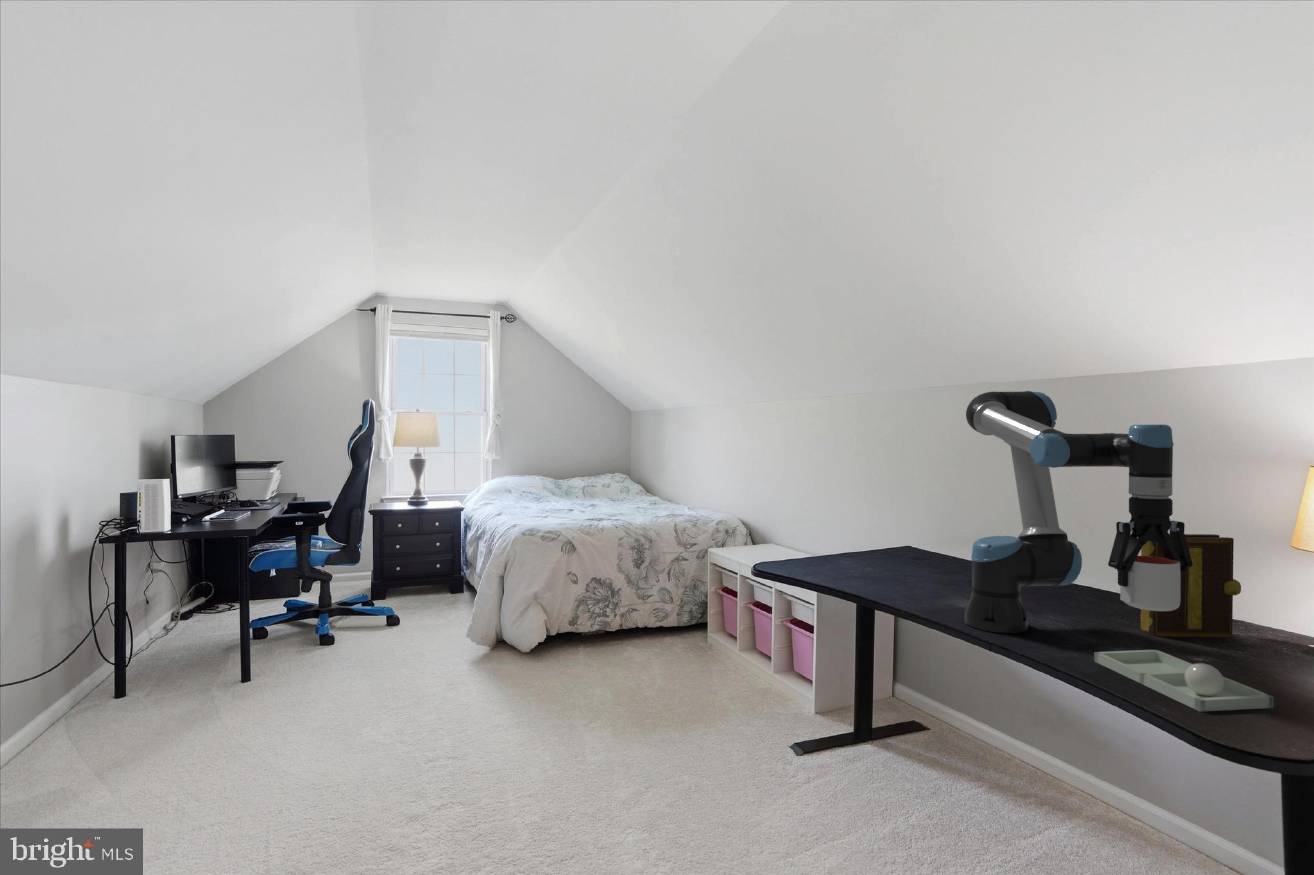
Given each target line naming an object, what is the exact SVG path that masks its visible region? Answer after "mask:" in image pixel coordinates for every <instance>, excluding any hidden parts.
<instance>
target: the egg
mask: <svg viewBox="0 0 1314 875" xmlns="http://www.w3.org/2000/svg"><path fill="white" fill-rule="evenodd" d="M1192 664H1193V665H1190V666H1189V667H1188V668H1187V669H1186V671H1185V674H1184V678H1185V681H1186V683H1187V685H1188V686H1189V688H1190V689H1192V690H1193V691H1194V692H1196V693H1198V694H1201V695H1205V696H1212V695H1216V694H1218V693H1219V692H1221V690H1222V689H1223V687H1224V679H1223V677H1224V676H1223V675H1222V673H1221V672H1220V671H1219V670H1218V669H1217V668H1215V667H1214V666H1213V665H1211V664H1207V663H1204V662H1198V663H1197V662H1196V663H1192Z"/></svg>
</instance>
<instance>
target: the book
mask: <svg viewBox="0 0 1314 875" xmlns="http://www.w3.org/2000/svg"><path fill="white" fill-rule="evenodd" d="M1184 534H1185V533H1184ZM1169 535H1170V533H1169ZM1170 537H1171V536H1170ZM1185 538H1186V541H1187V545H1188V549H1189V552H1190V556H1191V560H1192V563H1193V565H1192V567H1188V570H1187V571H1183V583H1182V585H1181V602H1180V606H1179V607H1178V608H1177V609H1175V610H1172V611H1152V610H1145V609H1140V615H1139V616H1140V620H1139V622H1140V625H1139V626H1140V627H1139V630H1140V631H1141V632H1142V633H1144V634H1146V635H1149V636H1152V637H1163V638H1169V637H1170V638H1223V639H1224V638H1226V639H1227V638H1230V639H1231V638H1233V618H1234V617H1233V615H1234V613H1233V612H1234V611H1233V606H1234V604H1233V603H1234V602H1233V601H1234V599H1233V598H1234V596H1238V595H1240V594H1241V592H1242V585H1241V583H1240V581H1238V580H1237V579H1235V578H1234V548H1235V547H1234V541H1235V540H1234V538H1233V537H1227V536H1226V537H1223V536H1221V537H1220V535H1219V534H1210V533H1209V534H1206V533H1205V534H1203V533H1202V534H1200V533H1199V534H1197V533H1194V534H1193V533H1192V534H1191V533H1186V534H1185ZM1171 542H1172V541H1171ZM1140 556H1152V557H1161V558H1165V556H1164V554H1163V552H1162V551H1161V549H1160V547H1159V545H1158V543H1157V542H1155V541H1154V540H1152V541H1147V543H1146V544H1145V545H1143V546H1142V548H1141V550H1140Z"/></svg>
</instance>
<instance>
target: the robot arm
mask: <svg viewBox="0 0 1314 875" xmlns="http://www.w3.org/2000/svg"><path fill="white" fill-rule="evenodd" d="M965 418H966V421H967V424H968V426H970V428H971V429H973V430H974V431H976V432H978V433H979V434H981V435H984V436H994V437H996V438H998V439H1000V440H1002V441H1003V442H1004V443H1005V444H1007V445H1008V446H1010V452H1011V458H1012V466H1013V472H1014V478H1015V479H1014V480H1015V485H1016V490H1017V498H1018V503H1019V509H1020V510H1019V511H1020V516H1021V523H1022V532H1020V533H1019V535H1018V536H1017V537H1016V536H1013V535H994V536H985V537H982V538H979V539H977V540H975V541H974V542H973V543H972V550H971V596H970V599H969V601H968V603H967V606H966V609H965V611H964V623H965V624H966V625H968V626H969V627H972V628H974V629H975V628H976V629H978V630H982V631H985V632H993V633H1000V634H1017V633H1023V632H1026V631H1028V629H1029V620H1028V617H1027V614H1026V611H1025V608H1024V605H1023V602H1022V599H1021V598H1022V597H1021V590H1022V588H1021V587H1048V586H1050V587H1058V586H1069V585H1071V584H1073V583H1074V582H1075V581H1076V580H1077V579H1078V576H1080V573H1081V571H1082V567H1083V566H1082V565H1083V558H1082V552H1081V550H1080V548H1078V545H1077V544H1076V543H1074V542H1073V541H1070V540H1069V539H1068V535H1067V534H1068V533H1067V532H1066V531H1064V530H1063V529H1061V528H1060V524H1059V520H1058V519H1059V518H1058V513H1057V511H1058V510H1057V506H1056V500H1055V494H1054V493H1055V492H1054V489H1053V488H1054V487H1053V483H1052V477H1051V470H1050V468H1053V469H1054V468H1071V467H1072V468H1076V467H1077V468H1079V467H1083V468H1084V467H1086V468H1087V467H1088V468H1089V467H1093V468H1094V467H1095V468H1096V467H1097V468H1098V467H1100V468H1101V467H1103V468H1105V467H1111V468H1112V467H1114V468H1115V467H1116V468H1117V467H1120V468H1121V467H1122V468H1128V494H1129V495H1131V496H1129V498H1128V513H1129V514H1130V515H1131V516H1130V520H1129V521H1127V522H1123V521H1117V522H1116V523H1115V526H1116V533H1115V537H1114V541H1113V544H1112V549H1111V552H1110V555H1109V559H1108V563H1107V565H1108V567H1110V568H1113V569H1115V570H1117V584H1118V586H1119V588H1120V589H1119V591H1120V592H1119V596H1120V599H1119V601H1122V602H1124V601H1125V602H1128V603H1134V572H1131V571H1130V569H1131V567H1132V565H1133V563H1134V561H1135V560H1136V558H1137V556H1139V554H1140V553H1141V548H1142V546H1143V545H1145V544H1146V543H1147V541H1152V540H1154V541H1155V542H1157V543H1158V545H1159V547H1160V549H1161V551H1162V552H1163V554H1164V556H1165V558H1167V559H1170V560H1176V561H1178V562H1180V602H1181V585H1182V583H1183V571H1187V570H1188V567H1192V565H1193V563H1192V560H1191V556H1190V552H1189V549H1188V545H1187V541H1186V538H1185V528H1186V527H1185V523H1184V522H1183V521H1178V520H1171V519H1170V517H1171V516H1172V515H1173V510H1174V509H1173V503H1174V501H1173V499H1172V498H1170V497H1172V496H1173V462H1174V459H1173V458H1174V457H1173V455H1174V453H1173V452H1174V449H1173V448H1174V440H1173V430H1172V427H1171V426H1169V425H1168V424H1132V425H1130V426H1129V428H1128V433H1115V432H1109V433H1108V432H1105V433H1104V432H1103V433H1065V432H1063V431H1060V430H1058V429H1055V426H1056V425H1057V422H1056V421H1057V419H1058V414H1057V408H1056V405H1055V403H1054V402H1053V400H1052V398H1051V397H1049V395H1046V393H1043V392H1040V391H1032V390H1031V391H1030V390H1024V391H987V392H982V393H981V394H978V395H976V396H975V397H974V398H973V399H972V400H971V401H970V402H969V404H968V405H967V407H966V410H965ZM1169 534H1170V535H1169ZM1170 536H1171V537H1170ZM1171 541H1172V542H1171ZM1125 602H1124V603H1125Z"/></svg>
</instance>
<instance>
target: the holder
mask: <svg viewBox="0 0 1314 875" xmlns="http://www.w3.org/2000/svg"><path fill="white" fill-rule="evenodd" d="M1093 654H1094V656H1093V661H1094V662H1095V663H1097V664H1098V665H1101V666H1103V667H1105V668H1108V669H1110V670H1111V671H1113V672H1116V673H1118V674H1120V675H1122V676H1124V677H1126V678H1128V679H1131V680H1132V681H1135V682H1136V683H1139V684H1142V685H1143V686H1145V687H1147V688H1150V689H1152V690H1153V691H1156V692H1157V693H1160V694H1163V695H1164V696H1166V697H1168V698H1170V699H1173V700H1174V701H1176V702H1179V703H1181V704H1183V705H1186V706H1187V707H1190V708H1191V709H1194V710H1195V711H1197V712H1216V711H1217V712H1218V711H1235V710H1236V711H1238V710H1254V709H1255V710H1256V709H1258V710H1259V709H1274V707H1275V702H1274V701H1275V697H1274V696H1272V695H1270V694H1267V693H1265V692H1263V691H1261V690H1258V689H1255V688H1254V687H1250V686H1247V685H1245V684H1243V683H1240V682H1238V681H1236V680H1233V679H1230V678H1228V677H1226V676H1223V679H1224V687H1223V689H1222V690H1221V692H1219V693H1218V694H1216V695H1212V696H1205V695H1201V694H1198V693H1196V692H1194V691H1193V690H1192V689H1190V688H1189V686H1188V685H1187V683H1186V681H1185V678H1184V674H1185V671H1186V669H1187V668H1188V667H1189V666H1190V665H1193V664H1194V663H1191V662H1188V661H1186V660H1183V659H1180V658H1178V657H1176V656H1174V655H1171V654H1168V653H1165V652H1163V651H1161V650H1158V649H1143V650H1142V649H1141V650H1140V649H1136V650H1117V651H1115V650H1114V651H1094V652H1093Z"/></svg>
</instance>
